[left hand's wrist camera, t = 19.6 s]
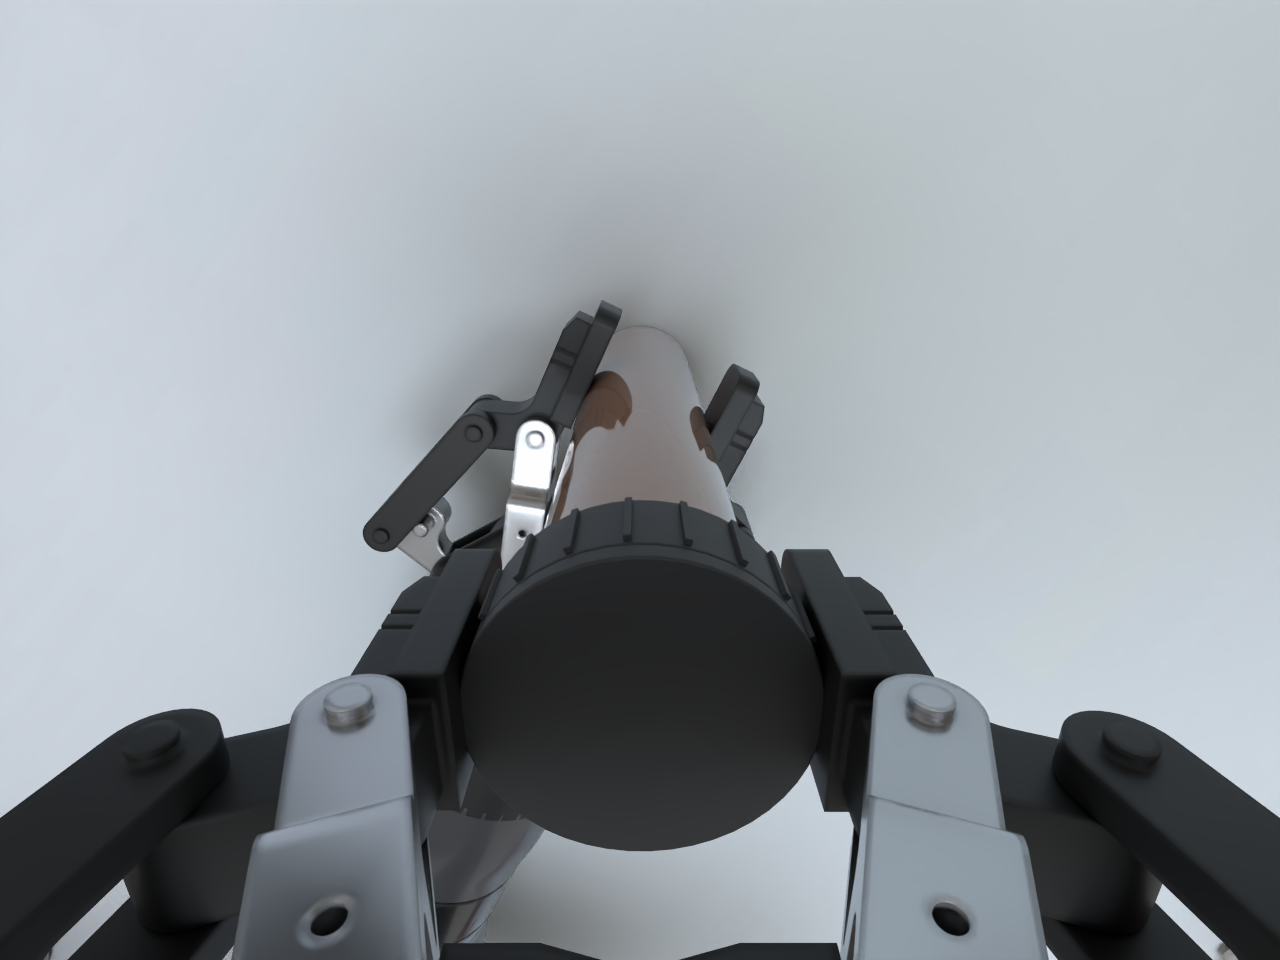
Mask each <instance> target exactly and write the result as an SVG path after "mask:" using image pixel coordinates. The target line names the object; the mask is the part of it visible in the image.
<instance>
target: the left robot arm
mask: <svg viewBox="0 0 1280 960" xmlns="http://www.w3.org/2000/svg"><path fill="white" fill-rule="evenodd" d="M497 569H500V570H502V571H503V569H502V559H501V554H500V551H499V549H455V550H454V551H453V553H452V555H451V557H450V559H449V560H448V562H447V564H446V566H445V568H444V570H443V572H442V573H441V575H440V576H424V577H422V578H421V579H420V580H418V581H417V582H415V583H414V584H413V585H411V586H410V587H408V588H407V589H406V590H404V591H403V592H402V593H401V595H400V596H399V598H398V599H397V601H396V603H395V604H394V606H393V608H392V609H391V614H388V616H387V617H386V619H385V621H384V622H383V624H382V625H381V626H382V628H381V629H379V630H378V632H377V634H376V635H375V637H374V638H373V640H372V642H371V643H370V645H369V646H368V648H367V650H366V651H365V653H364V655H363V656H362V658H361V659H360V661H359V663H358V664H357V666H356V668H355V669H354V671H353V672H352V674H351V676H348V677H344V678H340V679H337V680H335V681H332V682H330V683H327V684H325V685H323V686H321V687H320V688H318V689H316V690H314V691H313V692H312V693H310V694H309V695H308V696H306V697H305V698H304V699H303V700H302V701H301V702H300V703H299V705H298V706H297V707H296V709H295V710H294V712H293V714H292V717H291V721H290V723H289V724H286V725H282V726H279V727H275V728H270V729H266V730H261V731H257V732H252V733H247V734H243V735H238V736H234V737H229V738H224V735H223V732H222V728H221V724H220V722H219V720H218V718H217V717H216V716H215V715H213V714H212V713H210V712H207V711H204V710H199V709H179V710H171V711H167V712H162V713H159V714H155V715H152V716H149V717H146V718H144V719H141V720H139V721H136V722H134V723H132V724H130V725H128V726H126V727H124V728H123V729H121V730H119V731H117V732H116V733H114V734H113V735H111V736H110V737H108V738H107V739H106V740H104V741H103V742H102V743H100V744H99V745H98V746H96V747H95V748H94V749H92V750H91V751H90V752H88V753H87V754H86V755H84V756H83V757H82V758H80V759H79V760H77V761H76V762H75V763H73V764H72V765H71V766H69V767H68V768H67V769H65V770H64V771H63V772H61V773H60V774H59V775H57V776H56V777H55V778H53V779H52V780H51V781H49V782H48V783H47V784H45V785H44V786H43V787H41V788H40V789H39V790H37V791H36V792H35V793H33V794H32V795H31V796H29V797H28V798H26V799H25V800H24V801H22V802H21V803H20V804H18V805H17V806H16V807H14V808H13V809H12V810H10V811H9V812H8V813H6V814H5V815H4V816H2V817H1V818H0V960H44V958H45V957H46V955H47V954H48V952H49V951H50V950H51V949H52V947H53V946H54V945H55V944H56V943H57V942H58V941H59V940H60V939H61V938H62V937H63V936H64V935H65V934H66V933H67V932H68V931H69V930H70V929H71V928H72V927H73V926H74V925H75V924H76V923H77V922H78V921H79V920H80V919H81V918H82V917H83V916H84V915H85V914H87V913H88V912H89V911H90V910H91V909H92V908H93V907H94V906H95V905H96V904H97V903H98V902H99V901H100V900H101V899H102V898H103V897H104V896H105V895H106V894H107V893H108V892H109V891H110V890H111V889H113V888H114V887H115V886H116V885H117V884H118V883H119V882H120V881H121V880H122V879H124V882H125V885H126V887H127V890H128V892H129V895H130V898H129V899H128V900H127V901H126V902H125V903H124V904H123V905H122V906H121V907H120V908H119V909H118V910H117V911H116V912H115V913H114V914H113V915H112V916H111V917H110V918H109V919H108V920H107V921H106V922H105V923H104V924H103V925H102V926H101V927H100V928H99V929H98V930H97V931H96V932H95V933H94V934H93V935H92V936H91V937H90V938H89V939H88V940H87V941H86V942H85V943H84V944H83V945H82V946H81V947H80V948H79V949H78V950H77V951H76V952H75V953H74V954H73V955H72V956H71V957H70V958H69V959H68V960H222V959H223V958H224V957H225V955H226V954H227V953H228V952H229V950H230V949H231V948H232V947H233V945H234V948H233V954H232V959H231V960H600V959H596V958H592V957H589V956H585V955H581V954H578V953H574V952H571V951H567V950H563V949H560V948H556V947H552V946H549V945H545V944H542V943H443V946H442V949H441V953H440V952H439V941H438V931H437V920H436V910H435V899H434V889H433V878H432V868H431V858H430V848H429V841H428V832H429V829H430V826H431V823H432V820H433V817H434V814H435V811H436V810H460V809H461V806H462V803H463V799H464V796H465V793H466V789H467V786H468V783H469V779H470V776H471V772H472V769H473V766H474V763H473V761H472V759H471V756H470V754H469V752H468V750H467V745H466V738H465V729H464V721H463V713H462V704H461V695H460V680H461V676H462V671H463V667H464V664H465V661H466V659H467V656H468V653H469V651H470V648H471V645H472V643H473V640H474V638H475V635H476V632H477V630H478V627H479V624H480V622H481V620H480V619H478V616H479V613H480V611H481V608H482V605H483V603H484V600H485V598H486V595H487V593H488V590H489V587H490V585H491V582H492V580H493V577H494V574H495V572H496V571H497ZM781 571H782V573H783V575H784V577H785V579H786V581H787V583H788V584H789V586H790V589H791V591H794V590H797V592H798V594H799V597H800V599H801V602H802V604H803V607H804V609H805V612H806V614H807V617H808V619H809V622H810V624H811V627H812V629H813V632H814V634H815V637H816V639H817V642H815V643H812V646H813V648H814V651H815V653H816V656H817V659H818V662H819V664H820V667H821V670H822V675H823V680H824V696H823V705H822V713H821V721H820V730H819V738H818V744H817V750H816V752H815V754H814V756H813V758H812V760H811V762H810V766H811V769H812V773H813V776H814V779H815V782H816V786H817V789H818V792H819V796H820V799H821V802H822V805H823V809H824V812H849V813H850V816H851V819H852V822H853V825H854V828H853V835H852V841H851V848H850V858H849V868H848V878H847V889H846V899H845V910H844V920H843V931H842V941H841V952H840V953H839V949H838V946H837V943H738V944H735V945H731V946H728V947H724V948H720V949H717V950H713V951H709V952H706V953H702V954H699V955H695V956H691V957H688V958H684V959H680V960H1049V959H1048V954H1047V948H1046V945H1047V947H1048V948H1049V949H1050V950H1051V952H1052V953H1053V954H1054V955H1055V957H1056V958H1057V959H1058V960H1212V959H1211V958H1210V957H1209V956H1208V955H1207V954H1206V953H1205V952H1204V951H1203V950H1202V949H1201V948H1200V947H1199V946H1198V945H1197V944H1196V943H1195V942H1194V941H1193V940H1192V939H1191V938H1190V937H1189V936H1188V935H1187V934H1186V933H1185V932H1184V931H1183V930H1182V929H1181V928H1180V927H1179V926H1178V925H1177V924H1176V923H1175V922H1174V921H1173V920H1172V919H1171V918H1170V917H1169V916H1168V915H1167V914H1166V913H1165V912H1164V911H1163V910H1162V909H1161V908H1160V907H1159V906H1158V905H1157V904H1156V903H1155V901H1156V899H1157V896H1158V894H1159V891H1160V888H1161V886H1162V884H1163V885H1164V886H1165V887H1166V888H1168V889H1169V890H1170V891H1171V892H1172V893H1173V894H1174V895H1175V896H1176V897H1177V898H1178V899H1179V900H1180V901H1181V902H1182V903H1183V904H1184V905H1185V906H1186V907H1187V908H1188V909H1189V910H1190V911H1191V912H1192V913H1193V914H1195V915H1196V916H1197V917H1198V918H1199V919H1200V920H1201V921H1202V922H1203V923H1204V924H1205V925H1206V926H1207V927H1208V928H1209V929H1210V930H1211V931H1212V932H1213V933H1214V934H1215V935H1216V936H1217V937H1218V938H1219V939H1220V940H1222V941H1223V942H1224V943H1225V945H1226V946H1227V947H1228V948H1229V949H1230V950H1231V951H1232V952H1233V954H1234V955H1235V956H1236V957H1237V959H1238V960H1280V818H1279V817H1278V816H1276V815H1275V814H1274V813H1272V812H1271V811H1270V810H1268V809H1267V808H1266V807H1264V806H1263V805H1262V804H1260V803H1259V802H1258V801H1256V800H1255V799H1254V798H1252V797H1251V796H1250V795H1248V794H1247V793H1245V792H1244V791H1243V790H1241V789H1240V788H1239V787H1237V786H1236V785H1235V784H1233V783H1232V782H1231V781H1229V780H1228V779H1227V778H1225V777H1224V776H1223V775H1221V774H1220V773H1219V772H1217V771H1216V770H1215V769H1213V768H1212V767H1211V766H1209V765H1208V764H1207V763H1205V762H1204V761H1203V760H1201V759H1200V758H1198V757H1197V756H1196V755H1194V754H1193V753H1192V752H1190V751H1189V750H1188V749H1186V748H1185V747H1184V746H1182V745H1181V744H1180V743H1178V742H1177V741H1176V740H1174V739H1173V738H1171V737H1170V736H1168V735H1167V734H1165V733H1164V732H1162V731H1160V730H1158V729H1156V728H1155V727H1153V726H1150V725H1148V724H1146V723H1144V722H1141V721H1139V720H1136V719H1134V718H1131V717H1127V716H1124V715H1121V714H1116V713H1111V712H1104V711H1083V712H1079V713H1075V714H1073V715H1071V716H1069V717H1068V718H1067V719H1066V720H1065V721H1064V723H1063V725H1062V728H1061V732H1060V735H1059V739H1056V738H1051V737H1047V736H1042V735H1037V734H1033V733H1028V732H1024V731H1019V730H1014V729H1010V728H1006V727H1002V726H999V725H996V724H993V723H990V721H989V717H988V714H987V712H986V710H985V709H984V707H983V706H982V705H981V703H980V702H979V701H978V700H977V699H976V698H975V697H974V696H972V695H971V694H970V693H968V692H967V691H966V690H964V689H962V688H960V687H959V686H957V685H955V684H953V683H950V682H948V681H945V680H943V679H940V678H936V677H934V675H933V674H932V672H931V670H930V669H929V667H928V666H927V664H926V662H925V661H924V659H923V658H922V656H921V654H920V653H919V651H918V650H917V648H916V646H915V645H914V643H913V642H912V640H911V638H910V637H909V635H908V634H907V632H906V630H903V626H902V624H901V622H900V621H899V619H898V618H897V616H896V615H894V614H893V610H892V608H891V606H890V605H889V603H888V602H887V600H886V598H885V597H884V595H883V594H882V592H880V591H879V590H877V589H876V588H875V587H873V586H872V585H870V584H869V583H868V582H866V581H865V580H863V579H862V578H861V577H844V576H843V574H842V572H841V571H840V569H839V567H838V565H837V563H836V561H835V560H834V558H833V556H832V554H831V552H830V551H829V550H828V549H786V550H785V551H784V553H783V557H782V563H781Z"/></svg>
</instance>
